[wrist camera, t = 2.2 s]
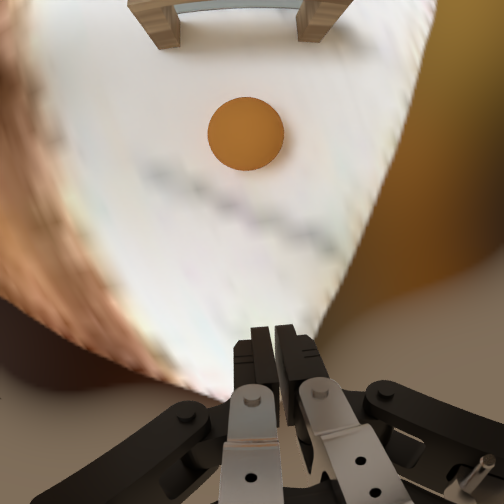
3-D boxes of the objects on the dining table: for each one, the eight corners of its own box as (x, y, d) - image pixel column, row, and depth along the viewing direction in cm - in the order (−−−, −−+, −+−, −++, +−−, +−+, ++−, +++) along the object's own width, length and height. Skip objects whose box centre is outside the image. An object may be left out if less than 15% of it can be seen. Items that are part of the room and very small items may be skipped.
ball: (212, 171, 27) (206, 174, 21) (209, 106, 25) (202, 92, 19) (279, 168, 27) (292, 170, 21) (276, 103, 25) (287, 88, 19)
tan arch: (319, 42, 23) (354, -2, 14) (158, 49, 23) (127, 6, 13) (316, 17, 22) (347, -31, 13) (159, 24, 22) (130, -25, 13)
